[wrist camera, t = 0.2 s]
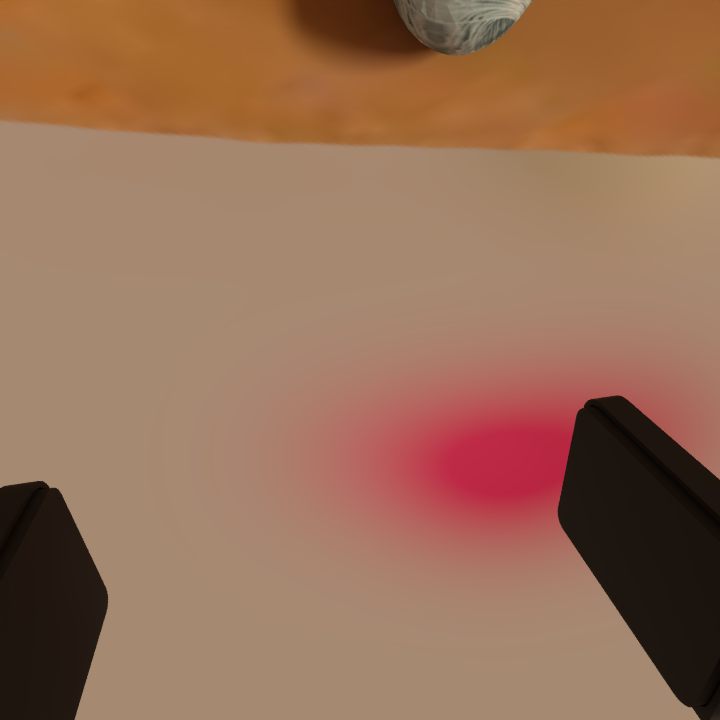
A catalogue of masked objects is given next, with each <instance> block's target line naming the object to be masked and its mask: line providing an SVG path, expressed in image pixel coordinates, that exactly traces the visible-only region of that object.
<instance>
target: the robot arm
mask: <svg viewBox="0 0 720 720" xmlns="http://www.w3.org/2000/svg"><path fill="white" fill-rule="evenodd" d="M558 518H559V522H560V524H561V526H562V528H563V530H564V531H565V533H566V534H567V536H568V537H569V539H570V540H571V542H572V543H573V545H574V546H575V548H576V549H577V551H578V552H579V554H580V555H581V557H582V558H583V560H584V561H585V562H586V564H587V565H588V567H589V568H590V570H591V571H592V573H593V574H594V576H595V577H596V579H597V580H598V582H599V583H600V584H601V586H602V588H603V589H604V591H605V592H606V594H607V595H608V597H609V598H610V599H611V601H612V603H613V604H614V606H615V607H616V609H617V610H618V611H619V613H620V614H621V616H622V617H623V619H624V620H625V622H626V623H627V625H628V626H629V628H630V629H631V631H632V632H633V634H634V635H635V637H636V638H637V640H638V641H639V643H640V644H641V646H642V647H643V648H644V650H645V652H646V653H647V654H648V656H649V657H650V659H651V660H652V662H653V663H654V665H655V666H656V668H657V669H658V671H659V672H660V674H661V675H662V677H663V678H664V680H665V681H666V683H667V684H668V686H669V687H670V689H671V690H672V691H673V693H674V694H675V695H676V697H677V698H678V699H679V700H680V701H681V702H682V703H683V704H684V705H686V706H687V707H692V708H693V709H694V711H695V712H696V714H697V715H698V717H699V718H700V720H720V480H719V479H718V478H717V477H716V476H715V475H714V474H712V473H711V472H710V471H709V470H708V469H707V468H706V467H704V466H703V465H702V464H701V463H700V462H698V461H697V460H696V459H695V458H694V457H693V456H692V455H690V454H689V453H688V452H687V451H686V450H685V449H683V448H682V447H681V446H680V445H679V444H678V443H677V442H675V441H674V440H673V439H672V438H671V437H670V436H668V435H667V434H666V433H665V432H664V431H663V430H661V429H660V428H659V427H658V426H657V425H656V424H655V423H653V422H652V421H651V420H650V419H649V418H648V417H646V416H645V415H644V414H643V413H642V412H641V411H640V410H638V409H637V408H636V407H635V406H634V405H633V404H632V403H630V402H629V401H628V400H627V399H625V398H624V397H622V396H610V397H603V398H597V399H591V400H588V401H587V402H586V403H585V405H584V408H582V409H580V410H579V411H578V413H577V416H576V421H575V426H574V432H573V436H572V441H571V446H570V451H569V456H568V461H567V466H566V471H565V476H564V481H563V486H562V491H561V496H560V501H559V506H558ZM107 606H108V594H107V590H106V587H105V585H104V583H103V581H102V579H101V577H100V574H99V572H98V570H97V568H96V566H95V564H94V562H93V560H92V557H91V555H90V553H89V551H88V549H87V547H86V545H85V543H84V541H83V538H82V536H81V534H80V532H79V530H78V528H77V526H76V524H75V522H74V519H73V517H72V515H71V513H70V511H69V509H68V507H67V505H66V503H65V501H64V498H63V496H62V494H61V493H60V491H59V490H58V489H57V488H49V486H48V485H47V484H46V483H45V482H43V481H36V482H29V483H22V484H16V485H9V486H4V487H2V488H0V720H74V719H75V716H76V712H77V709H78V706H79V702H80V699H81V696H82V693H83V689H84V686H85V682H86V679H87V676H88V672H89V669H90V666H91V662H92V659H93V656H94V652H95V649H96V645H97V642H98V639H99V635H100V632H101V629H102V625H103V621H104V619H105V615H106V612H107Z"/></svg>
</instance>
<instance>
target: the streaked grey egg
mask: <svg viewBox="0 0 720 720" xmlns="http://www.w3.org/2000/svg"><path fill="white" fill-rule="evenodd" d="M393 1H394V3H395V6H396V8H397V11H398V13H399V15H400V17H401V19H402V20H403V22H404V24H405V25H406V27H407V28H408V29H409V31H410V32H411V33H412V34H413V35H414V36H415V37H416V38H417V39H418V40H419V41H420V42H421V43H423V44H424V45H425V46H427V47H429V48H431V49H433V50H435V51H437V52H440V53H443V54H447V55H454V56H459V55H466V54H470V53H474V52H476V51H478V50H481V49H483V48H485V47H486V46H488V45H490V44H491V43H493V42H494V41H496V40H497V39H499V38H500V37H501V36H502V35H503V34H505V33H506V32H507V31H508V30H509V29H510V28H511V27H512V26H513V25H514V23H515V22H516V21H517V20H518V19H519V18H520V17H521V15H522V14H523V12H524V11H525V10H526V8H527V7H528V5H529V4H530V3H531V1H532V0H393Z"/></svg>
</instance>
